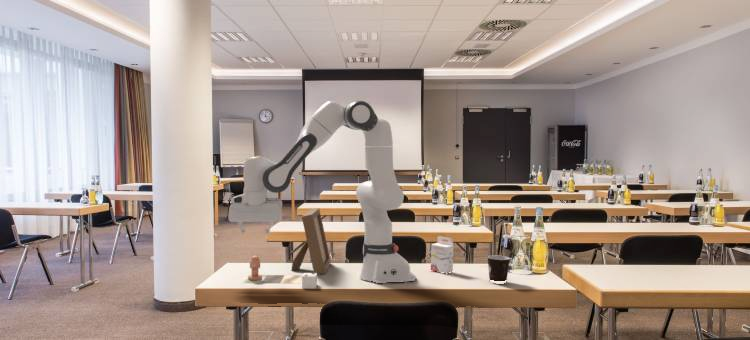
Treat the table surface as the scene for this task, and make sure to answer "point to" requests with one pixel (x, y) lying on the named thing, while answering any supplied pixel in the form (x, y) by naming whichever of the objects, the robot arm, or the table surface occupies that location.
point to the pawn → (255, 269)
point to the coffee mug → (498, 267)
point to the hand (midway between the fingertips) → (255, 233)
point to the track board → (276, 279)
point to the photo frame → (313, 243)
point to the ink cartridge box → (442, 255)
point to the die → (309, 280)
